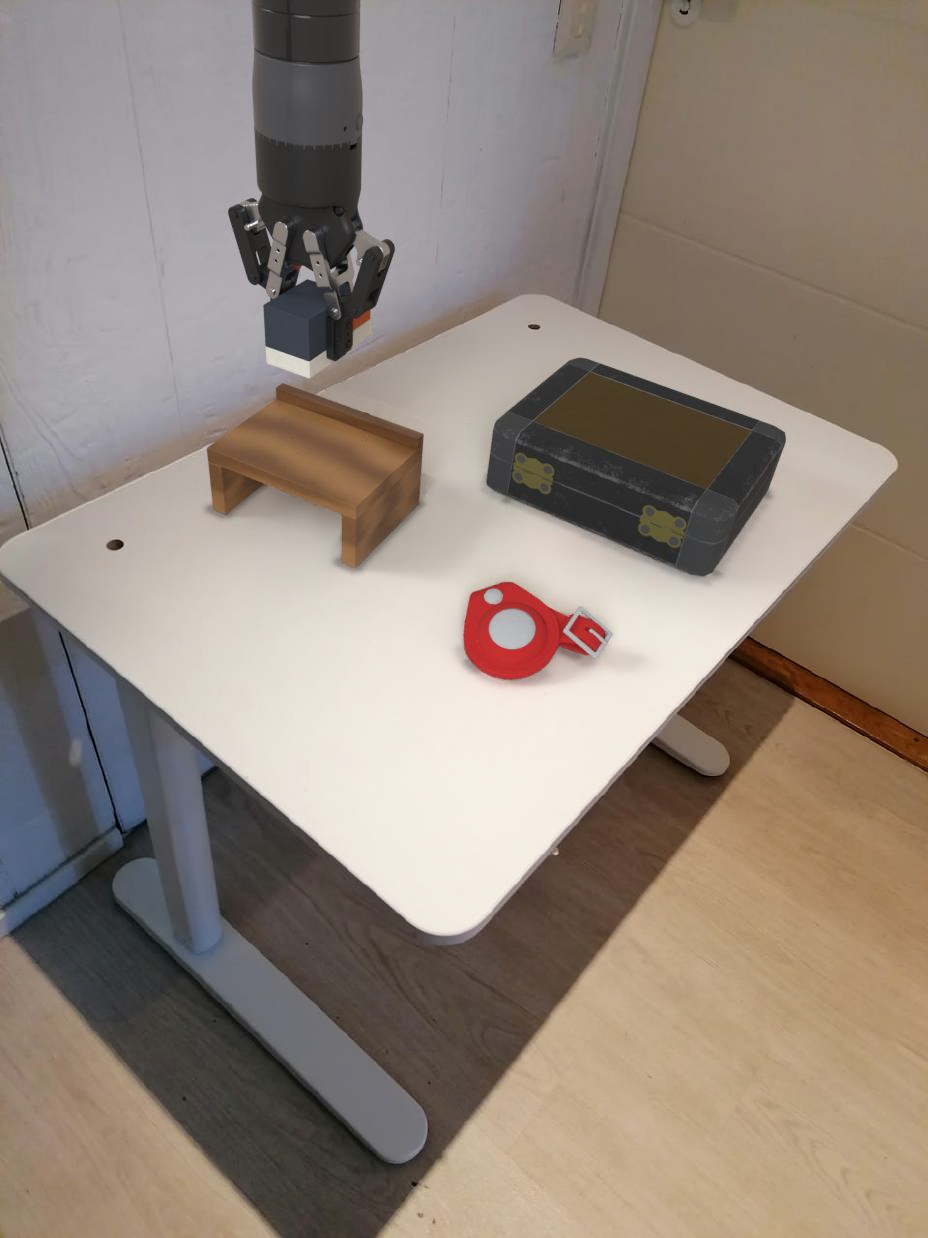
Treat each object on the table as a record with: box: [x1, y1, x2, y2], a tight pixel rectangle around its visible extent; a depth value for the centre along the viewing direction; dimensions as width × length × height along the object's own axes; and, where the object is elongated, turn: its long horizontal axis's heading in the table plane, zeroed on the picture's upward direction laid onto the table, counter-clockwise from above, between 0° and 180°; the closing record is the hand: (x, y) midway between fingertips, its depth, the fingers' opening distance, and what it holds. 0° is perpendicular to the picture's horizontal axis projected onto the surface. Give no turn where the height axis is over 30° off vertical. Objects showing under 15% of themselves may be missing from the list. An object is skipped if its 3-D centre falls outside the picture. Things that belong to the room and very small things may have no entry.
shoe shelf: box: [206, 382, 425, 569], centre depth 92 cm, size 12×16×8 cm
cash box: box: [485, 357, 787, 577], centre depth 100 cm, size 25×20×8 cm
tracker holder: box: [462, 581, 614, 681], centre depth 83 cm, size 12×4×10 cm
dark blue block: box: [262, 278, 373, 379], centre depth 79 cm, size 10×4×5 cm, turn 152°
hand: (312, 346), depth 79 cm, fingers closed on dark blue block, 4 cm apart
